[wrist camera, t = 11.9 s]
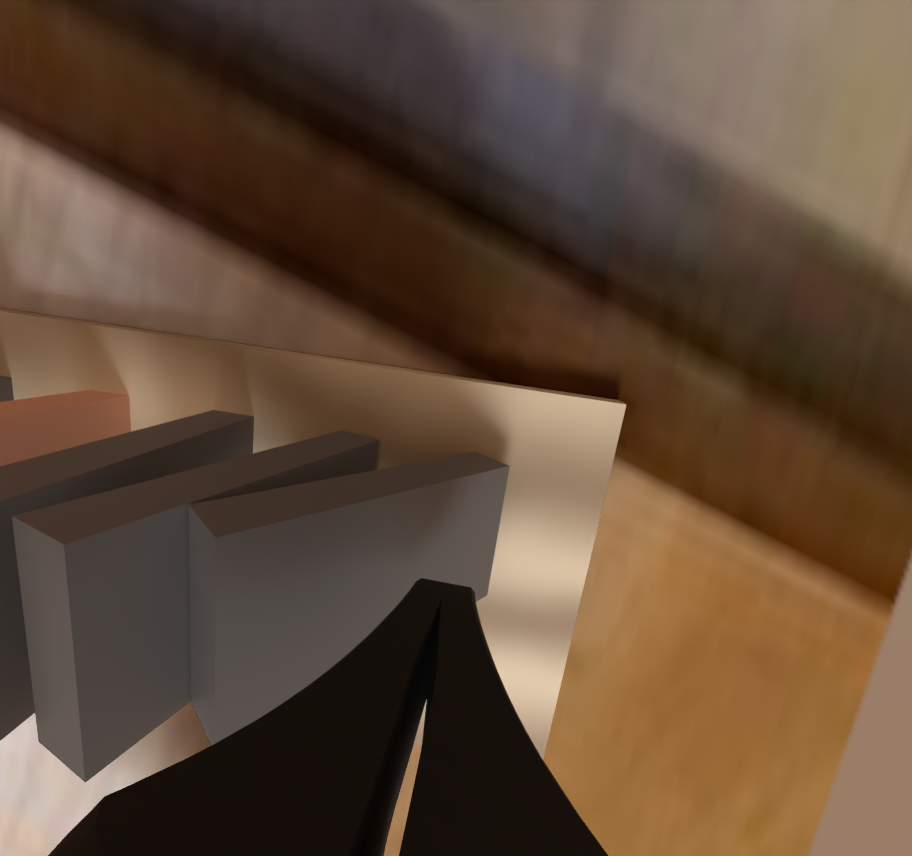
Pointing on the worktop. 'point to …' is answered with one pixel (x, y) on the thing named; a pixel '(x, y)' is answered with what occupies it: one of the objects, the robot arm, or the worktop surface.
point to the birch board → (380, 453)
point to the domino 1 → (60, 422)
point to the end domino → (6, 389)
